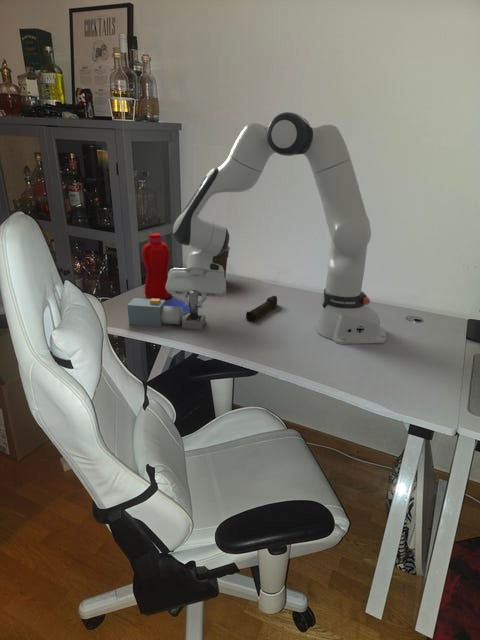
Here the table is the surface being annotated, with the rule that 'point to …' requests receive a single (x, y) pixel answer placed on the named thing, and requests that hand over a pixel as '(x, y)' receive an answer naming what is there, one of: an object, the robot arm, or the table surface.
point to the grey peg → (193, 305)
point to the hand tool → (262, 309)
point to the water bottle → (156, 267)
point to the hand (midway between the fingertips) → (193, 306)
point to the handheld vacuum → (160, 314)
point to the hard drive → (178, 304)
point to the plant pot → (222, 259)
